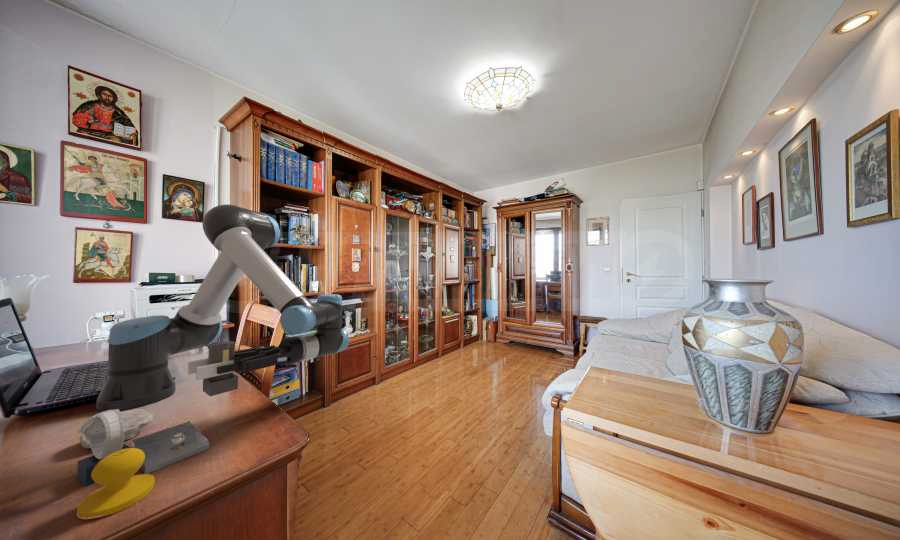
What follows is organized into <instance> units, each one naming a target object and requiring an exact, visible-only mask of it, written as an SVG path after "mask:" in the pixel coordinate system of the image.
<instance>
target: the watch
mask: <svg viewBox="0 0 900 540" xmlns="http://www.w3.org/2000/svg"><path fill="white" fill-rule="evenodd" d="M121 412H122V411H121V410H119V409H116V410H108V411H100V412H98V413H96V414H94V415H92V416H91V417H89V418H87V419H85V421H84V422H83V423H82V424H81V426H80V427H79V428H77V431H76V433H77V434H82V433H83V435H84V436H85V438H86V440H87V441H90V445H91V448H90V449H91V452H92V454H93V455H90V456H87V457H86V458H83V459H81V460H78V461H77V470H76V472H77V473H76V479H77V481H79V482H80V483H81V484H82V485H83V486H84V487H88V486H91V485H93V484H96V482H94V481H93V479H92V477H91V473H92V471H93V469H94V467H95V466H96V465H97V464H98V463H99V462H100V461H101V460H102V459H103V458H105V457H106V456H108V455H110V454H112V453H114V452H116V451H119V450H122V449H127V448H131V447H130V446H129V445H127V444H125V443H124V442H125V441H124V438H125V435H124V425H123V419H122V418H123V417H122V413H121ZM104 440H105V441H104ZM101 441H102V442H101Z"/></svg>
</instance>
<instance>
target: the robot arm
mask: <svg viewBox="0 0 900 540" xmlns="http://www.w3.org/2000/svg"><path fill="white" fill-rule="evenodd" d="M202 231H203V232H204V235H205V237H206V239H208V241H209V242H210V243H211V245H212V246H213V247H214V248H215V249H216V250H217V251H219V252H220V253H219V254H218V256H217V257H216V259H215V261H214V263H213V264H212V266H211V268H210V269H209V271H208V272H207V274H206V276H205V278H204V279H203V281H202V282H201V284H200V286H199V287H198V288H197V290H196V292H195V294H194V295H193V297H192V298H191V301H190V302H189V304H185V305H183V306H181V307H180V308H179V309H178V310H177V312H176V313H175V315H174V317H172V318H170V317H169V316H168V315H148V316H140V317H135V318H131V319H126V320H122V321H120V322H118V323H116V324H114V325H113V326H112V327H111V328H110V329H109V334H108V339H107V343H108V357H107V358H108V361H107V362H108V363H107V377H106V381H105V383H104V384H103V386H102V388H101V391H100V393H99V395H98V397H97V399H96V410H97V411H100V412H104V411H108V410H116V409H119V411H121V410H122V411H123V410H130V409H133V408H138V407H142V406H146V405H150V404H153V403H157V402H159V401H161V399H162V400H164V399H167V398H168V397H170V396H172V395H173V394H175V392H176V386H177V385H176V382H175V379H174V377H173V375H172V373H171V370H170V368H169V356H173V355H177V354H181V353H185V352H189V351H193V350H197V349H202V348H204V347H206V346H209V345H210V344H213V343H215V342H216V341H217V340H218V339H219V338H220V336H221V334H222V332H223V327H222V325H223V321H222V316H221V314H220V312H221V311H222V310H223V308H224V306H225V304H226V303H227V301H228V300H229V298H230V296H231V295H232V293H233V291H234V290H235V289H236V286H237V285H238V283H239V282H240V280H241V278H242V277H243V275H245V276H246V277H247V278H248V279H249V281H250V282H252V284H254V286H255V287H256V288H257V289H258V291H260V293H262V295H263V296H264V297H265V298H266V299H267V301H269V302H270V303H271V304H272V306H273V307H275V309H276V310H277V311H278V312H279V313H280V318H279V322H280V326H281V329H282V330H283V331H284V332H285V333H287V334H290V335H298V336H290V337H289V336H288V337H285V338H283V339H282V340H281V341H280V343H279V345H278V346H276V345H273V344H272V345H268V346H267V345H265V344H264V345H263V344H262V345H260V346H255V347H250V348H245V349H244V348H243V349H238V350H235V352H234V361H233V360H230V361H225V362H220V363H215V364H210V365H208V358H202V359H197V360H191V361H188V362H187V375H192V374H193V375H194V374H195V380H196V381H201V380H203V379H206V378H210V377H214V376H219V375H223V374H227V373H231V372H233V371H234V373H241V374H245V373H249V372H253V371H256V370H257V371H258V370H261V369H264V368H271V367H273V366H279V365H285V366H289V365H292V364H296V363H299V362H303V361H306V362H309V361H310V360H311V359H316V358H319V357H325V356H328V355H329V356H330V355H335V354H337V353H340V352H342V351H345V350H346V349H347V348H348V346H349V344H350V337H349V332H348V331H347V330H346V329H345V328H343V327H342V324H343V323H342V322H343V321H342V320H343V319H342V318H343V297H342V295H340V294H336V293H332V294H330V293H324V294H319V295H318V296H317V298H316V299H317V300H316V302H311V301H310V300H309V299H308V297H306V295H304V293H303V292H302V291H301V290H300V289H299V288H298V287H297V286H296V285H295V284H294V283H293V281H292V280H291V279H290V278H289V277H288V276H287V274H285V273H284V272H283V270H282V269H281V268H280V267H279V266H278V265H277V264H276V262H275V261H273V260H272V258H271V257H270V256H269V255H268V254H267V252H266V251H265V249H269V248H273V247H274V246H276V245H277V244H278V242H279V241H280V237H281V229H280V226H279V223H278V222H277V220H275V218H273V217H272V216H270V215H267V214H265V213H263V212H260V211H255V210H251V209H247V208H244V207H241V206H238V205H235V204H234V205H233V204H220V205H217V206H214V207H212V208H210V209H209V210H208V211H207V212H206V213H205V215H204V216H203V219H202ZM312 330H315V331H316V332H313V333H309V332H310V331H312ZM304 333H307V334H304ZM299 334H300V335H299ZM171 394H172V395H171ZM158 400H159V401H158Z"/></svg>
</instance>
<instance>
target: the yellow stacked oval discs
mask: <svg viewBox="0 0 900 540" xmlns="http://www.w3.org/2000/svg"><path fill="white" fill-rule="evenodd" d="M144 460H145V454H144V452H143V451H142V450H140V449H137V448H132V447H130V448H127V449H122V450H119V451H116V452H114V453H112V454H110V455H108V456H106V457H105V458H103V459H102V460H101V461H100V462H99V463H98V464H97V465H96V466H95V467H94V469H93V471H92V473H91V477H92V479H93V481H94V482H95V484H98V485H99V486H102V487H100V488H98V489H97V490H95V491H93V492H92V493H90V494H89V495H88V496H86V497H85V498H84V499H82V501H80V502H79V504H78V506H77V509H76V515H77V514H78V516H80V517H86V518H88V517H93V516H99V515H100V516H101V515H106V514H111V515H113V514H112V513H114V514H116V513H118V511H119V512H120V510H121V511H123V510H125V509H127V508H129V507H131V506H133V505H135V504H136V503H138V502H140V501H141V500H142V499H143V498H144V499H145V497H146V496H147V495H148V494H149V493H151V492H152V491H153V489H154V487H155V483H156V480H155V479H156V478H155V476H154V475H152V474H151V473H149V474H145V473H144V474H143V473H142V474H141V473H140V474H136V473H137V472H138V471H139V470H140V468H142V467H141V466H142V464H143V462H144ZM128 506H129V507H128ZM124 508H125V509H124ZM122 509H123V510H122ZM115 512H116V513H115Z"/></svg>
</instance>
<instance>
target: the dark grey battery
mask: <svg viewBox="0 0 900 540" xmlns="http://www.w3.org/2000/svg"><path fill="white" fill-rule="evenodd" d="M235 344H236V342H235V341H227V340H226V341H219V342H213V343H211V344H209V345H208V365H210V364H215V363H220V362H225V361H230V360H233V361H234V352H235V351H236V349H235V347H236V345H235ZM238 384H239V376H238V375H236V374H235V371H233V372H231V373H227V374H223V375H219V376H214V377H210V378H206V379H202V392H204V393H205V394H206V395H207V396H208V397H214V396H217V395H221V394H224V393H227V392H231V391H235V390H238V386H239V385H238Z"/></svg>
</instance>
